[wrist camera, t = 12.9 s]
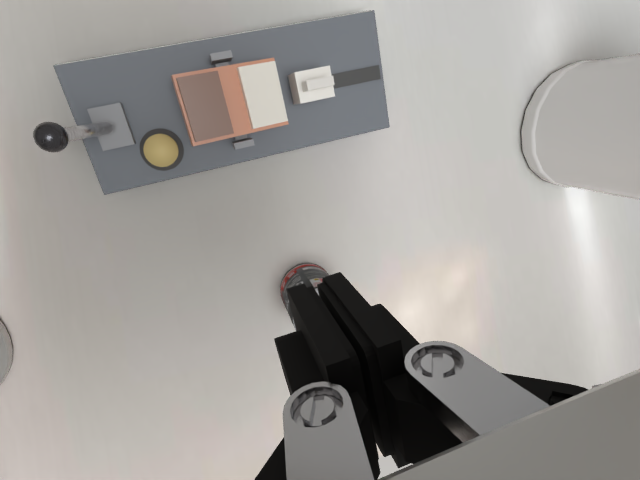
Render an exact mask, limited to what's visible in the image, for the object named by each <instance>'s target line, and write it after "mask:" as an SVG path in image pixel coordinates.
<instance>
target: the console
mask: <svg viewBox="0 0 640 480" xmlns="http://www.w3.org/2000/svg"><path fill="white" fill-rule="evenodd" d="M268 58H274V59H275V63H276V67H277V72H278V76H279V81H280V86H281V90H282V95H283V100H284V104H285V109H286V113H287V118H288V123H289V124H287V125H283V126H279V127H275V128H270V129H266V130H262V131H257V132H253V133H249V134H245V135H240V136H236V137H232V138H227V139H223V140H219V141H215V142H210V143H206V144H202V145H197V146H192V145H191V142H190V138H189V135H188V132H187V128H186V125H185V122H184V118H183V115H182V112H181V109H180V105H179V102H178V99H177V95H176V92H175V89H174V85H173V82H172V79H171V75H174V74H180V73H186V72H191V71H197V70H203V69H209V68H215V67H221V66H227V65H233V64H238V63H244V62H250V61H256V60H262V59H268ZM329 65H330V69H331V75H332V76H333V78H334V84H335V85H333V87H334V93H335V96H334V97H330V98H325V99H320V100H316V101H311V102H306V103H302V104H295V105H294V103H293V98H292V93H291V89H290V84H289V79H288V75H290V74H292V73H294V72H299V71H304V70H309V69H314V68H319V67H324V66H329ZM54 68H55V71H56V74H57V76H58V79H59V81H60V84H61V86H62V89H63V91H64V94H65V96H66V99H67V101H68V104H69V106H70V109H71V112H72V114H73V117H74V119H75V122H76V124H77V126H78V125H85V124H92V123H99V122H109V123H111V124H112V126H113V131H112V132H111V133H110V134H106V135H101V136H96V137H90V138H85V139H83V142H84V144H85V147H86V150H87V152H88V155H89V157H90V160H91V162H92V165H93V167H94V170H95V172H96V175H97V177H98V180H99V182H100V185H101V188H102V190H103V193H104V195H106V194H110V193H114V192H118V191H123V190H127V189H131V188H135V187H140V186H144V185H148V184H152V183H156V182H161V181H165V180H169V179H173V178H177V177H182V176H186V175H190V174H194V173H198V172H203V171H207V170H211V169H215V168H220V167H224V166H228V165H232V164H236V163H241V162H245V161H249V160H253V159H257V158H262V157H266V156H270V155H274V154H279V153H283V152H287V151H291V150H295V149H300V148H304V147H308V146H312V145H316V144H321V143H325V142H329V141H333V140H338V139H342V138H346V137H350V136H354V135H359V134H363V133H367V132H371V131H375V130H380V129H384V128H388V127H389V119H388V111H387V104H386V96H385V89H384V81H383V73H382V66H381V58H380V51H379V43H378V36H377V28H376V20H375V13H374V10H373V11H371V10H369V11H363V12H358V13H352V14H346V15H340V16H334V17H328V18H323V19H317V20H311V21H305V22H299V23H294V24H288V25H282V26H276V27H270V28H264V29H259V30H253V31H247V32H241V33H235V34H229V35H224V36H218V37H212V38H206V39H200V40H194V41H189V42H183V43H177V44H171V45H165V46H160V47H154V48H148V49H142V50H136V51H130V52H125V53H119V54H113V55H107V56H101V57H95V58H90V59H84V60H78V61H72V62H66V63H60V64H55V65H54Z"/></svg>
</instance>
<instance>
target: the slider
mask: <svg viewBox="0 0 640 480" xmlns="http://www.w3.org/2000/svg"><path fill="white" fill-rule="evenodd" d="M288 79H289V84H290V89H291V93H292V98H293V103H294V105H295V104H302V103H306V102H311V101H316V100H320V99H325V98H330V97H334V96H335V93H334V87H333V85H335V84H334V78H333V76H332V75H331V69H330V65H329V66H324V67H319V68H314V69H309V70H304V71H299V72H294V73H292V74H290V75H288Z"/></svg>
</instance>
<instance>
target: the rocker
mask: <svg viewBox="0 0 640 480" xmlns="http://www.w3.org/2000/svg"><path fill="white" fill-rule="evenodd" d="M171 79H172V82H173V85H174V89H175V92H176V95H177V99H178V102H179V105H180V109H181V112H182V115H183V118H184V122H185V125H186V128H187V132H188V135H189V138H190V142H191V145H192V146H197V145H202V144H206V143H210V142H215V141H219V140H223V139H227V138H232V137H236V136H240V135H245V134H249V133H253V132H257V131H262V130H266V129H270V128H275V127H279V126H283V125H287V124H289V123H288V118H287V113H286V109H285V104H284V100H283V95H282V90H281V86H280V81H279V76H278V72H277V67H276V63H275V59H274V58H268V59H262V60H256V61H250V62H244V63H238V64H233V65H227V66H221V67H215V68H209V69H203V70H197V71H191V72H186V73H180V74H174V75H171Z"/></svg>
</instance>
